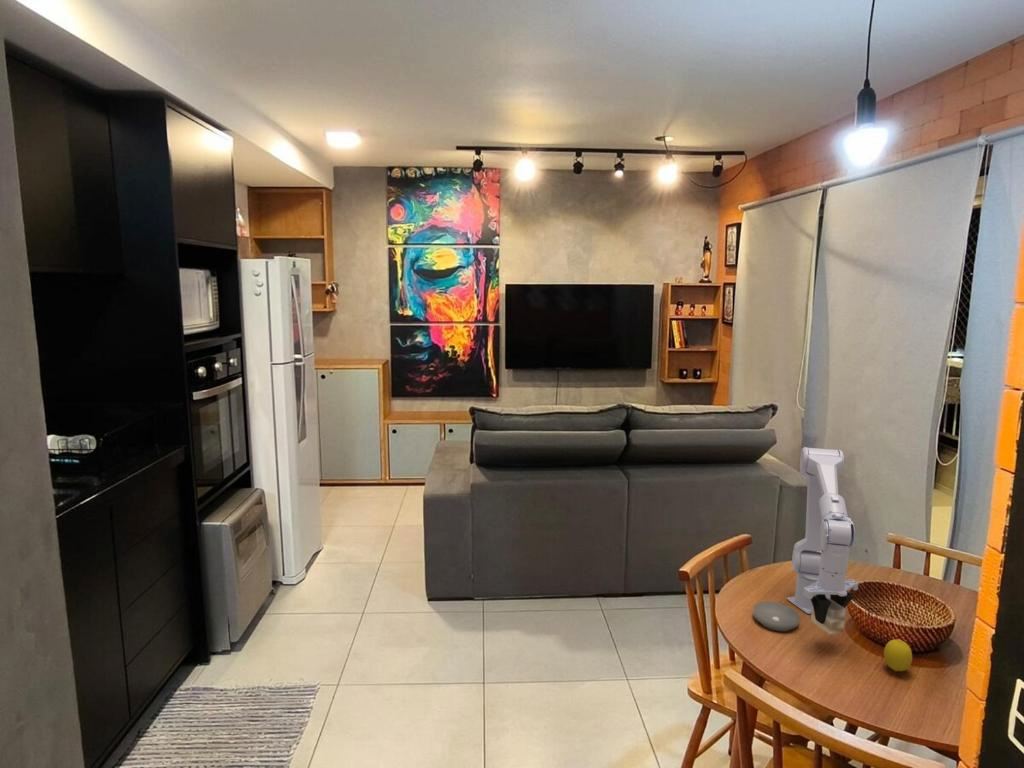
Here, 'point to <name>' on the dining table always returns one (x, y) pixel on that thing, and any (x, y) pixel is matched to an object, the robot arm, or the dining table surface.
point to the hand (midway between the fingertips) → (827, 620)
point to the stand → (776, 616)
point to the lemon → (898, 655)
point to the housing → (832, 618)
